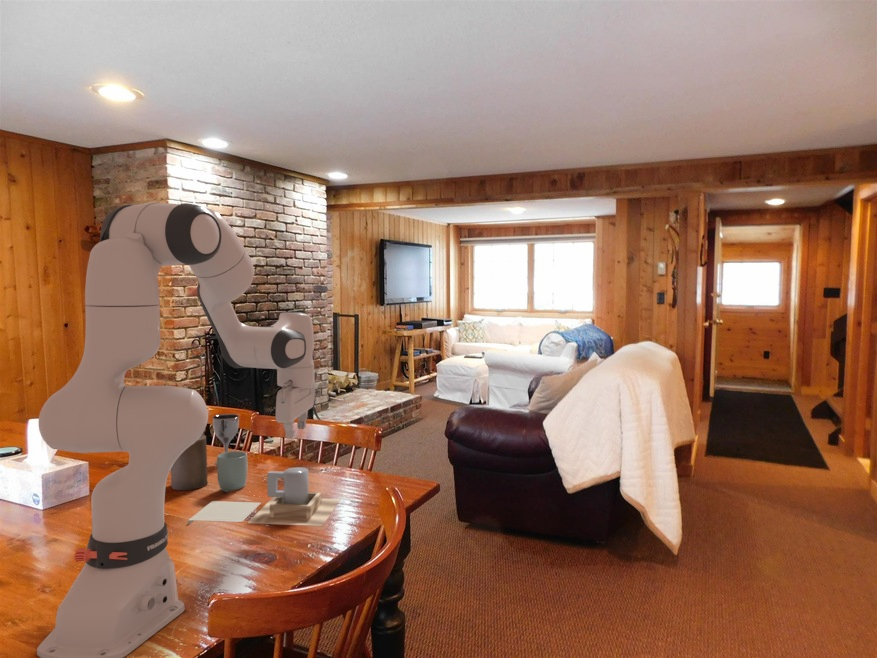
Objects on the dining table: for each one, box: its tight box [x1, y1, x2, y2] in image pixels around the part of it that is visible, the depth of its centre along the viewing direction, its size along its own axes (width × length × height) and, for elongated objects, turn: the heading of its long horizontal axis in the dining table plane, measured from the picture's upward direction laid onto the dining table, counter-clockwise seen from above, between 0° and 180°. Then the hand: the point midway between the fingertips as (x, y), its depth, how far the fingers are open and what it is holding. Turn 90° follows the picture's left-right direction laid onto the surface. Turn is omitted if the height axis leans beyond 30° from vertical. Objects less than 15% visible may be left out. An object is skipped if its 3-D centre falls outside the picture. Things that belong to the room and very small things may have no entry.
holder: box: [247, 491, 341, 527], centre depth 148 cm, size 18×18×4 cm
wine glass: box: [212, 413, 240, 465], centre depth 192 cm, size 8×8×15 cm
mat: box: [187, 500, 262, 525], centre depth 147 cm, size 13×13×1 cm
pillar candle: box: [170, 434, 209, 491], centre depth 169 cm, size 10×10×15 cm
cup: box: [216, 450, 248, 493], centre depth 165 cm, size 8×8×10 cm
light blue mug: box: [266, 466, 310, 505], centre depth 148 cm, size 6×10×10 cm, turn 86°
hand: (296, 433), depth 147 cm, fingers open, 8 cm apart
